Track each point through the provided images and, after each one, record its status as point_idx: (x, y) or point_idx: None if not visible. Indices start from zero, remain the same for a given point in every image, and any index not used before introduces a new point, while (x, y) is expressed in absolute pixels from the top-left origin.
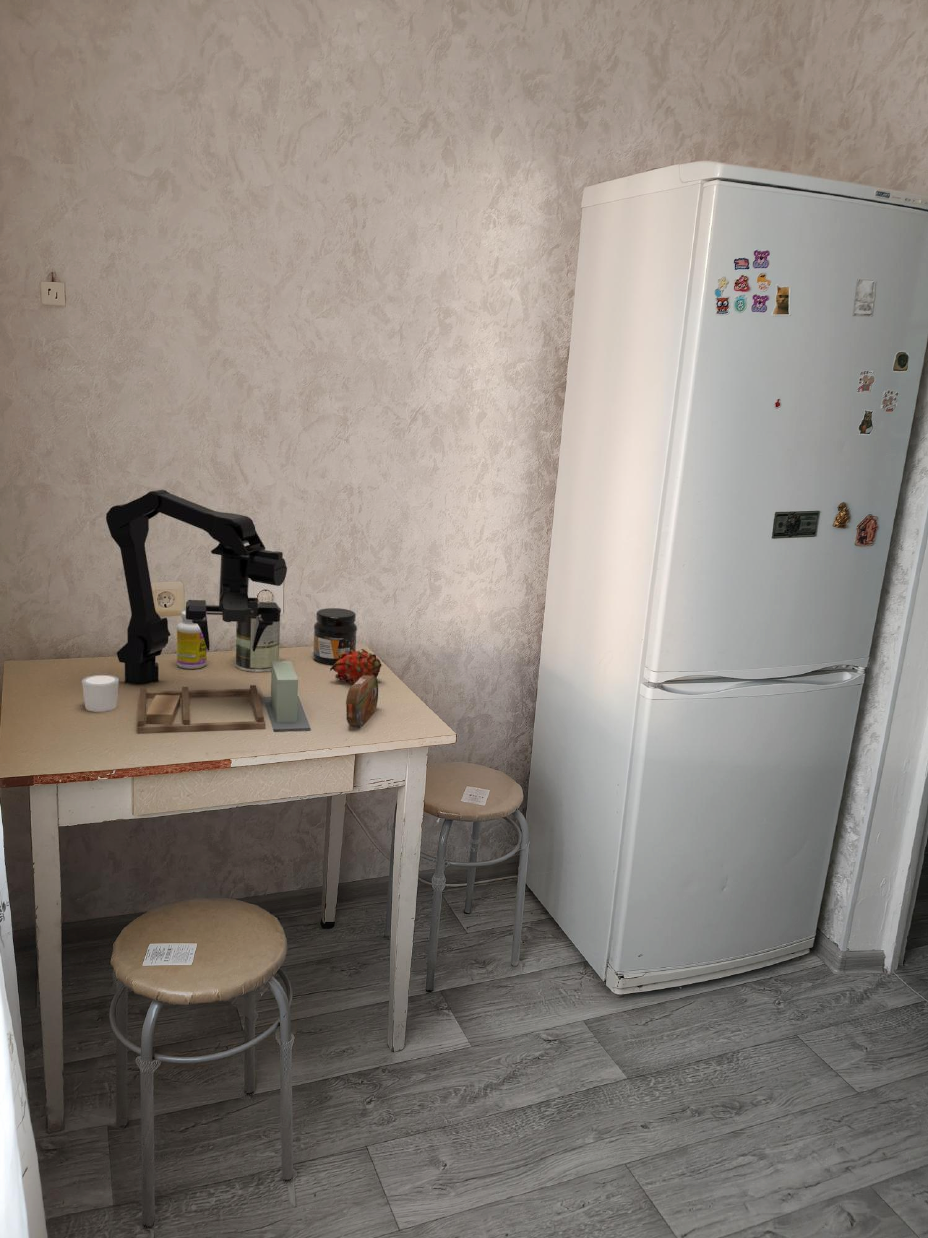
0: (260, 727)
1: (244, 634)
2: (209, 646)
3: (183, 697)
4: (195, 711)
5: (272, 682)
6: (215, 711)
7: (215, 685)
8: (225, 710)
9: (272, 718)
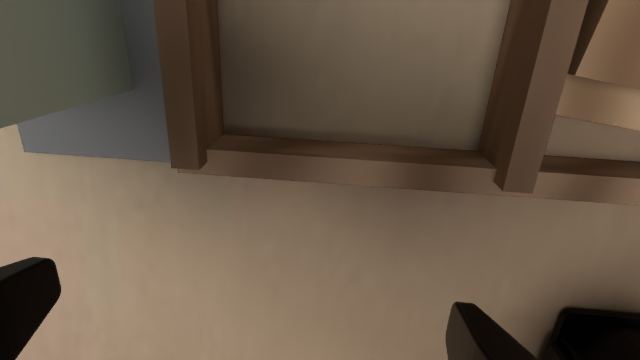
0: None
1: None
2: (467, 327)
3: (578, 15)
4: (468, 47)
5: (32, 33)
6: (380, 34)
7: (339, 320)
8: (334, 41)
9: None
